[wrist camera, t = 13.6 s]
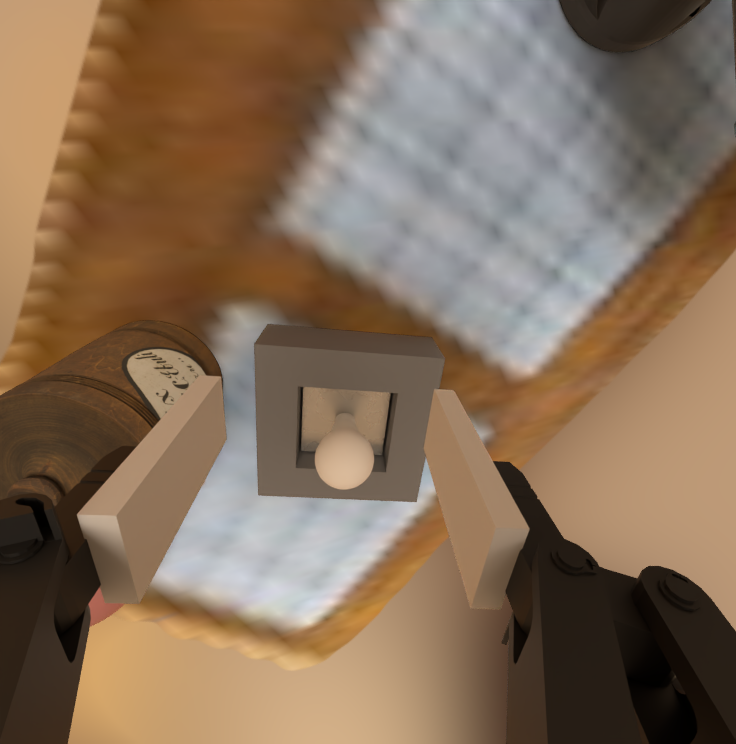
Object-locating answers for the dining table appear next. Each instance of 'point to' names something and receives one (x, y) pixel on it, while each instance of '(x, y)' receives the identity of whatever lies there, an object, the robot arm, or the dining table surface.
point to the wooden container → (94, 405)
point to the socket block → (348, 372)
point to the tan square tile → (332, 402)
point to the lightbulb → (344, 455)
